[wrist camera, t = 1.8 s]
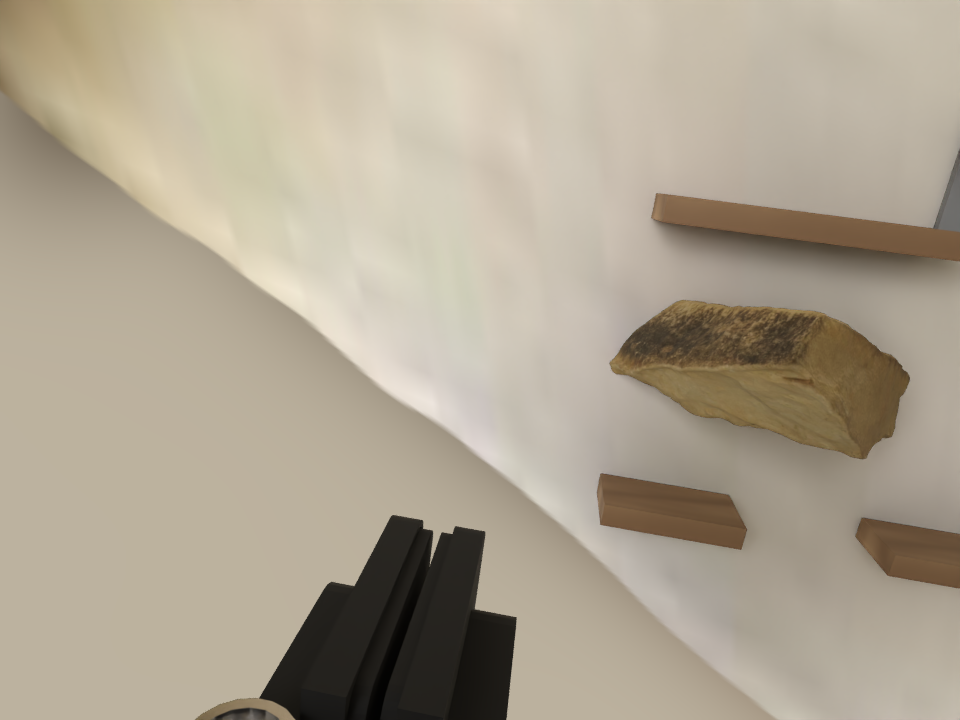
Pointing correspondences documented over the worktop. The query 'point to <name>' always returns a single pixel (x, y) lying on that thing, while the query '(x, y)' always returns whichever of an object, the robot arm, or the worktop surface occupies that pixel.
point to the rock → (770, 372)
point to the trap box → (715, 513)
